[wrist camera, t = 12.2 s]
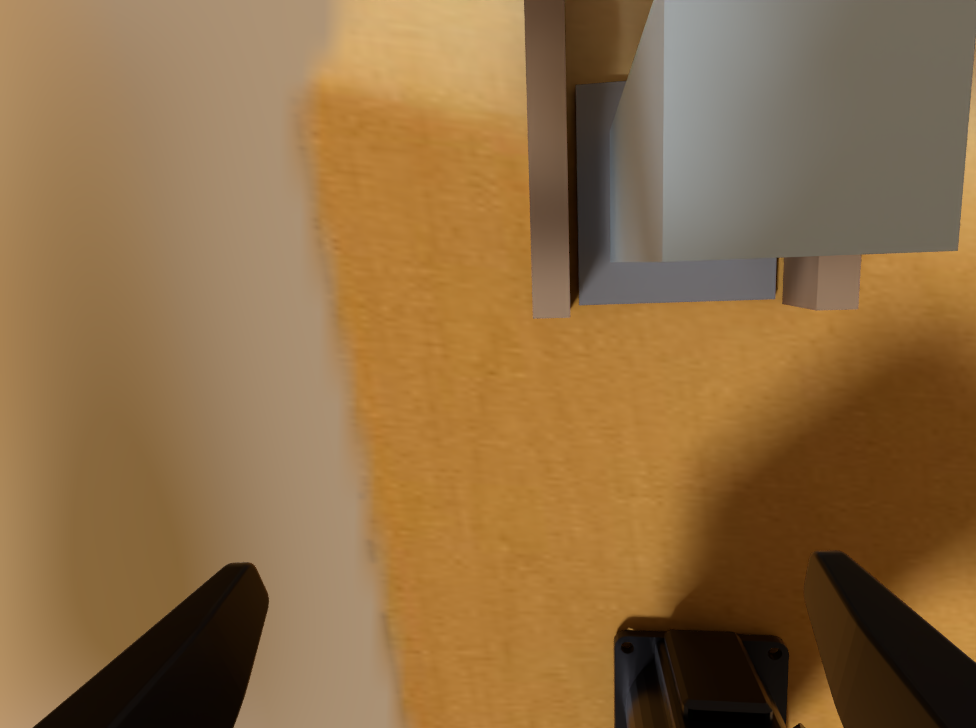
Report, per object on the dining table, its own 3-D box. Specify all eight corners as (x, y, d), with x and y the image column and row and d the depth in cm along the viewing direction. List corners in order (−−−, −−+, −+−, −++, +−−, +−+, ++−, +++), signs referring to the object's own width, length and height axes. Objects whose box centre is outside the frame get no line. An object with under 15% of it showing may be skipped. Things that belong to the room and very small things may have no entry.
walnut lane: (818, 302, 22) (858, 309, 19) (537, 311, 23) (533, 318, 20) (847, -325, 18) (900, -437, 16) (521, -275, 20) (513, -368, 17)
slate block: (741, 257, 21) (958, 251, 10) (610, 262, 22) (662, 261, 10) (745, 122, 21) (983, -65, 9) (609, 131, 21) (664, -34, 9)
